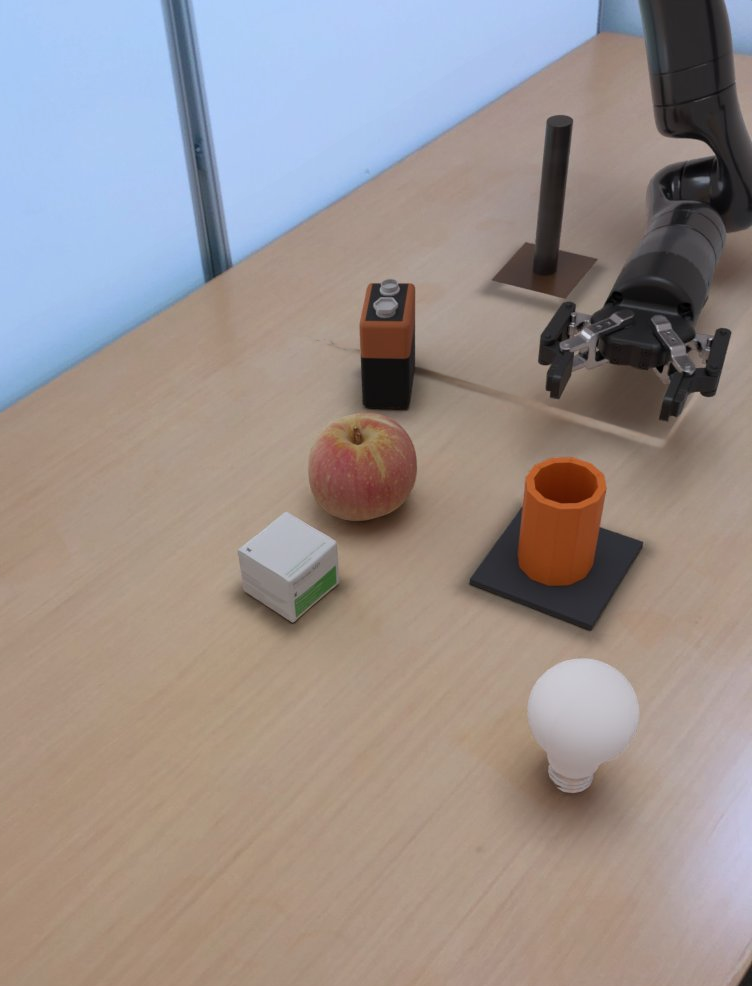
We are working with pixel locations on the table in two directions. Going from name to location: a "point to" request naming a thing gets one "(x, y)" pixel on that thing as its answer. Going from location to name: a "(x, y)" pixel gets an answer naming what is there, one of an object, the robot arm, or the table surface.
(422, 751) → the table surface
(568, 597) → the mat
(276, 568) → the small box
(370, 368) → the battery
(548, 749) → the light bulb
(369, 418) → the apple
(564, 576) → the tube
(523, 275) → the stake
